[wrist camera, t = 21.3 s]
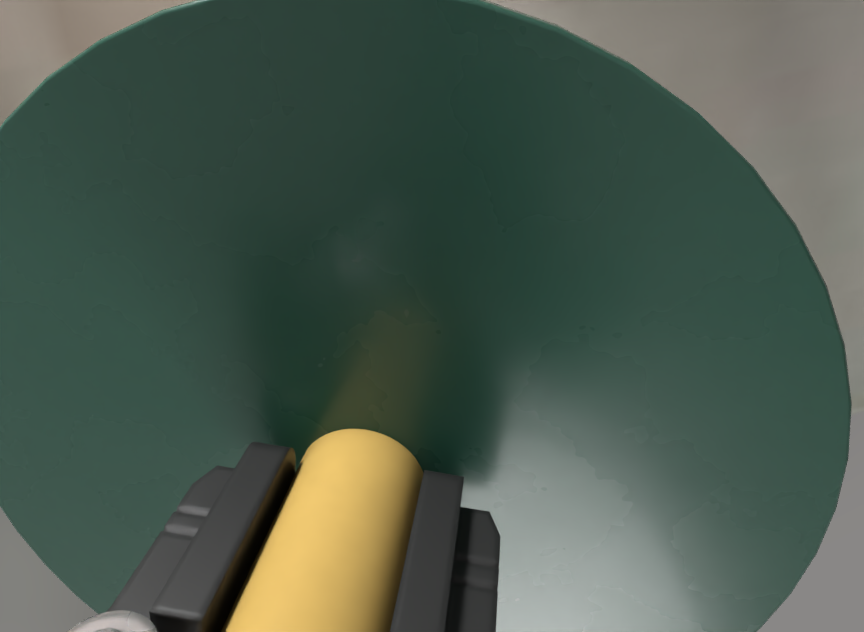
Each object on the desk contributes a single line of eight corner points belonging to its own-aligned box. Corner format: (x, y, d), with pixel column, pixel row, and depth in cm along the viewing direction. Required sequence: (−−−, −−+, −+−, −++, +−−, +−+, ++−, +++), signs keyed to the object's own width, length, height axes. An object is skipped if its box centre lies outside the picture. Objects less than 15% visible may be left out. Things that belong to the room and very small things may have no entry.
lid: (-127, -77, 10) (-943, -148, 4) (1017, 50, 9) (1851, 170, 3) (62, 628, 18) (-146, 918, 12) (676, 746, 16) (750, 1125, 11)
